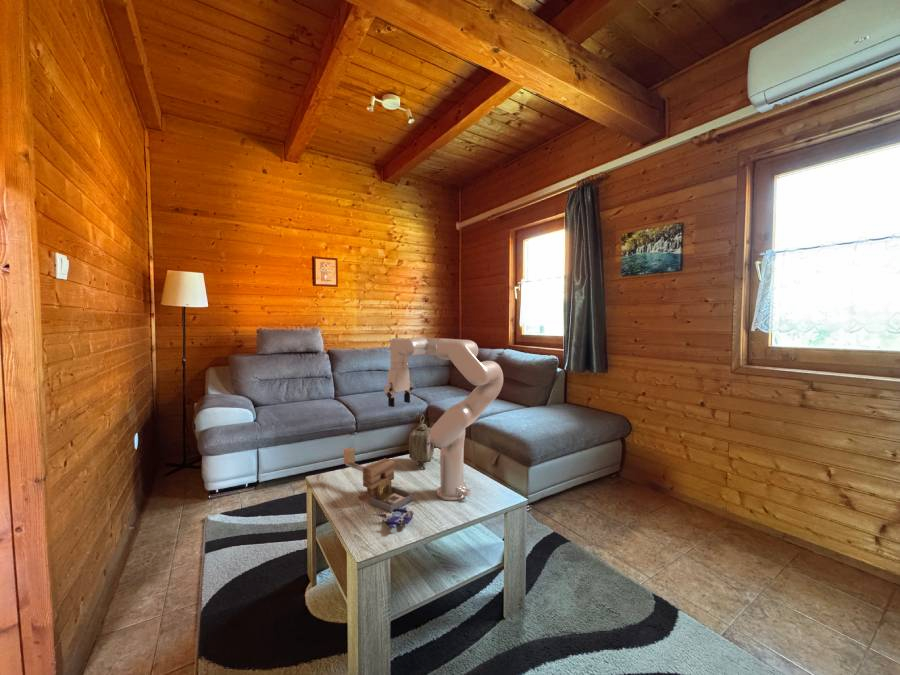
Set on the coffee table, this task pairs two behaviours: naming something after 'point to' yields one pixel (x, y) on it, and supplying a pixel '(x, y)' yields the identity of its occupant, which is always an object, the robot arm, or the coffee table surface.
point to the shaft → (352, 459)
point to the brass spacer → (380, 490)
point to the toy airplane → (397, 517)
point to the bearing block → (376, 477)
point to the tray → (397, 505)
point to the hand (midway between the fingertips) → (399, 404)
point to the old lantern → (421, 444)
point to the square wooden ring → (389, 499)
